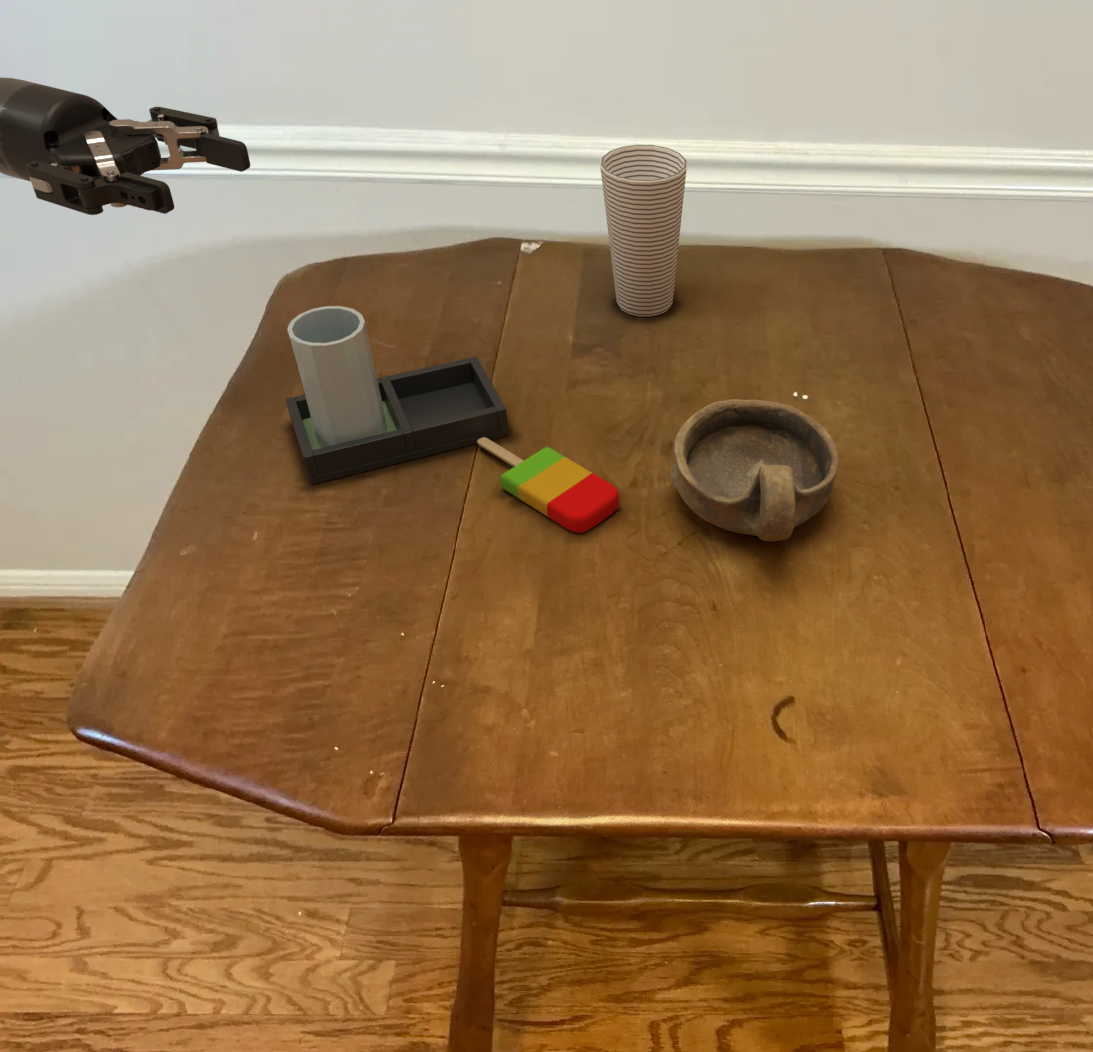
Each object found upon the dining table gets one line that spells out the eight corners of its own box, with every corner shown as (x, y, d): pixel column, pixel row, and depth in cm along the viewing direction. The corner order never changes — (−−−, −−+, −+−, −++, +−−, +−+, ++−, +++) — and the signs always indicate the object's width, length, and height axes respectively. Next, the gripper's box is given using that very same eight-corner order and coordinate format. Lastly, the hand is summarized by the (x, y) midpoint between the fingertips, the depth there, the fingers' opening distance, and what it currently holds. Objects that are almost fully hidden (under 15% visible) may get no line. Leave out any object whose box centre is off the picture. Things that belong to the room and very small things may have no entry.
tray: (311, 485, 91) (303, 457, 89) (292, 425, 97) (285, 398, 95) (509, 436, 97) (506, 408, 95) (480, 382, 103) (476, 356, 101)
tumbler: (323, 460, 92) (294, 351, 84) (310, 421, 96) (281, 314, 88) (393, 443, 94) (371, 335, 86) (378, 406, 98) (355, 300, 90)
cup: (616, 278, 118) (612, 140, 108) (691, 288, 117) (695, 149, 106) (595, 318, 112) (589, 175, 101) (675, 328, 111) (677, 185, 100)
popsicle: (579, 540, 87) (578, 522, 86) (457, 462, 94) (454, 445, 92) (626, 506, 90) (625, 489, 89) (504, 433, 97) (502, 417, 96)
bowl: (816, 448, 97) (828, 354, 90) (855, 587, 84) (872, 490, 77) (664, 453, 95) (665, 359, 89) (679, 595, 83) (681, 497, 76)
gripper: (-59, 115, 77) (126, 163, 74) (91, 59, 87) (260, 98, 84) (-20, 213, 82) (154, 262, 79) (118, 149, 92) (278, 189, 89)
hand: (209, 177), depth 81 cm, fingers open, 8 cm apart
